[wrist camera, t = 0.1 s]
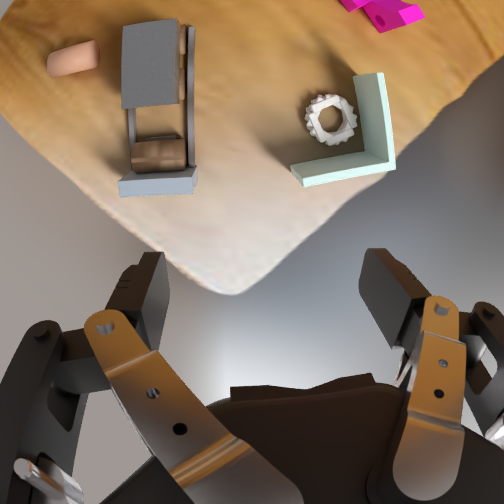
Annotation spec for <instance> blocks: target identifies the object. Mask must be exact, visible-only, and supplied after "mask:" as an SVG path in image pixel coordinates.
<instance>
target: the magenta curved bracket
mask: <svg viewBox="0 0 504 504" xmlns="http://www.w3.org/2000/svg"><path fill="white" fill-rule="evenodd" d="M340 1H341V2H342V4H343V5H344V6H345V8H346V9H347V10H348V12H351V11H353V10H356V9H358V8H361V7H362V8H363V9H364V10H365V12H366V13H367V15H368V16H369V18H370V19H371V21H372V22H373V24H374V25H375V27H376V28H377V30H378V31H379V33H383V32H386V31H389V30H392V29H395V28H398V27H401V26H405V25H408V24H410V23H413V22H415V21H418V20H420V19H423V18H425V16H424V14H423V13H422V11H421V9H420V8H419V6H418V5H417V4H415V5H414V4H408V3H405V2H402V1H400V0H340Z"/></svg>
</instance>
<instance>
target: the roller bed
mask: <svg viewBox="0 0 504 504" xmlns="http://www.w3.org/2000/svg"><path fill="white" fill-rule="evenodd" d="M186 45H187V34H186V26H185V25H181V33H180V54H185V52H186ZM194 55H195V26H194V27H189V37H188V156H189V168H195V145H194ZM185 93H186V77H185V70H184V69H180V71H179V100H184V98H185ZM128 121H129V140H130V155H131V168H132V172H133V171H134V172H135V173H145V172H161V171H180V170H185V169H186V163H187V148H186V141H185V139H177V135H170V136H157V137H147V138H145V142H137V136H136V112H135V108H130V109H128Z"/></svg>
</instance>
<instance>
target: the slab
mask: <svg viewBox="0 0 504 504" xmlns="http://www.w3.org/2000/svg"><path fill="white" fill-rule="evenodd" d="M180 33H181V24H180V23H179V21H178V20H177V18H176V19H167V20H158V21H151V22H144V23H138V24H132V25H127V26H123V35H122V61H121V99H122V109H130V108H138V107H147V106H158V105H169V104H179V71H180Z"/></svg>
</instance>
